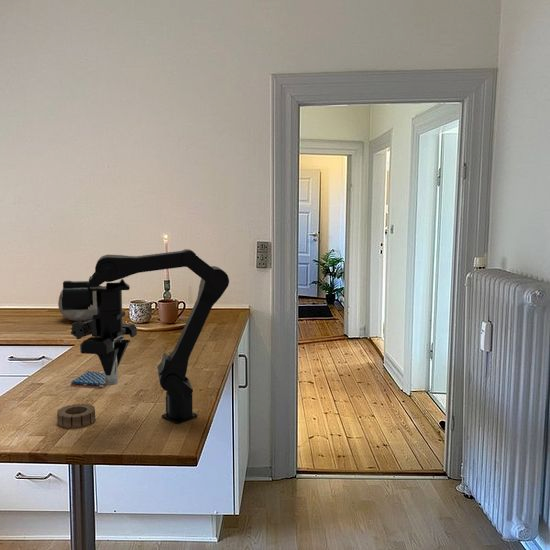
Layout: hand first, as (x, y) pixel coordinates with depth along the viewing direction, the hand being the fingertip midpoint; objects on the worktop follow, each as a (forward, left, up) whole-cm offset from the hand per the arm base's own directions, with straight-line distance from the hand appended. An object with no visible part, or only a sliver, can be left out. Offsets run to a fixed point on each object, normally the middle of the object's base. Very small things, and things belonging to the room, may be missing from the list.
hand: (111, 373), depth 132 cm
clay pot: (+105, -57, -13) cm, 120 cm away
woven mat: (+30, -14, -13) cm, 36 cm away
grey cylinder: (0, 0, -2) cm, 2 cm away
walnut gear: (+8, +5, -12) cm, 16 cm away
